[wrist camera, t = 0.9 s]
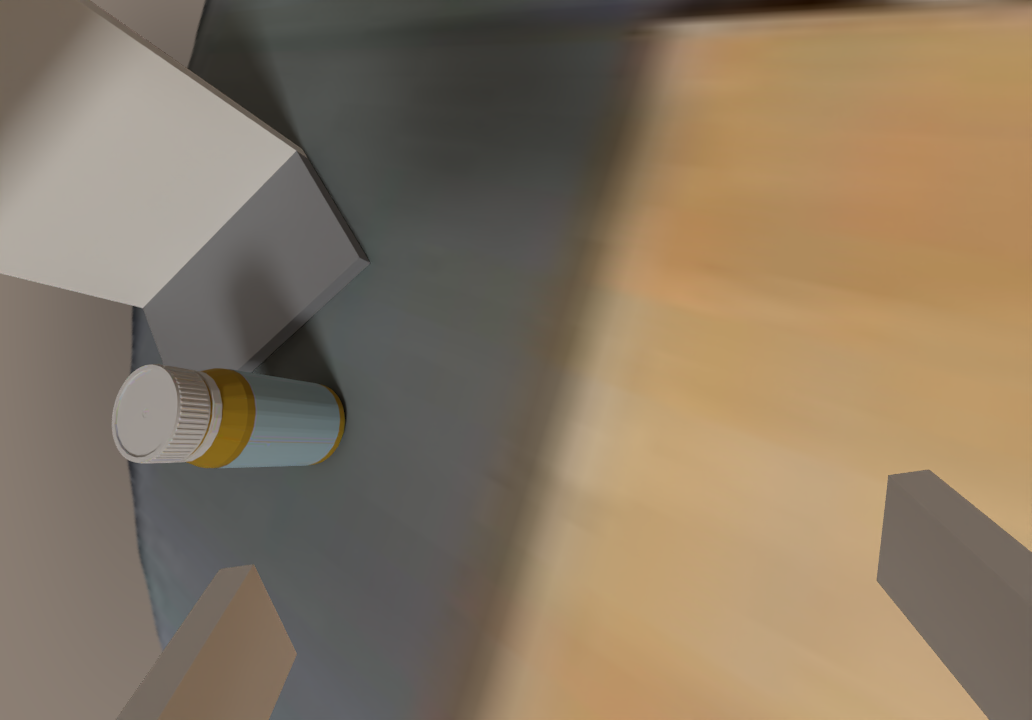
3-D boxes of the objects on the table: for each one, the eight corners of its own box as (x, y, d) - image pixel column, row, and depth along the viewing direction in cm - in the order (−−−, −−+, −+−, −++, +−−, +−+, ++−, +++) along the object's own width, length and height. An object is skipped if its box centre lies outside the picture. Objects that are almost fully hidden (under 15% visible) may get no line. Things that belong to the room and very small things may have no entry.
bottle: (361, 401, 45) (198, 378, 31) (331, 477, 45) (155, 489, 31) (304, 374, 48) (132, 343, 34) (276, 446, 48) (93, 444, 34)
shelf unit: (153, 301, 58) (-371, 165, 30) (302, 148, 53) (-165, -179, 25) (198, 420, 52) (-394, 386, 25) (370, 263, 47) (-136, 1, 20)
